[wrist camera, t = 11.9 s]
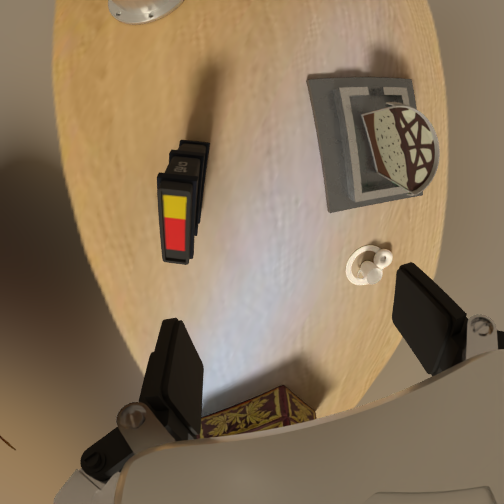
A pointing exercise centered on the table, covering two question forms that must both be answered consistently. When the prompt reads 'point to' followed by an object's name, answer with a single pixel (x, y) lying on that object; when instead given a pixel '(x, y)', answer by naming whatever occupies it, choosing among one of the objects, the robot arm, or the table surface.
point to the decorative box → (258, 415)
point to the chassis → (354, 137)
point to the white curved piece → (369, 265)
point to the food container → (403, 146)
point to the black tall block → (181, 200)
